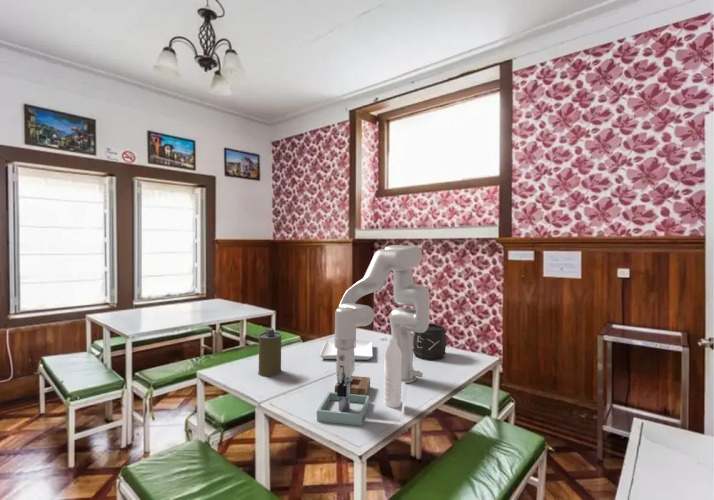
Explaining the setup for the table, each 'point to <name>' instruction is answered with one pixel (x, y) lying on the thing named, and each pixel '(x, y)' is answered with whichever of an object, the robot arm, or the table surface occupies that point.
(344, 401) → the steel pin
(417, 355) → the black cylinder
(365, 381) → the block
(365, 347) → the square plate
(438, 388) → the table surface
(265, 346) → the canister
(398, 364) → the water bottle
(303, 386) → the table surface
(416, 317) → the robot arm
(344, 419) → the tray
